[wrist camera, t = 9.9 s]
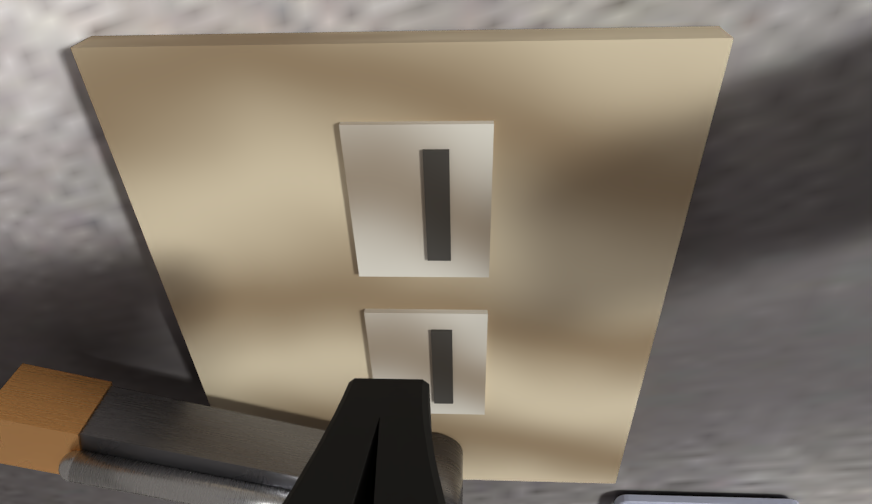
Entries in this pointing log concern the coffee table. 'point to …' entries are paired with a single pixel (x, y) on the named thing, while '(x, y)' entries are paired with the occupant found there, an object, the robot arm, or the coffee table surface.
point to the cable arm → (163, 442)
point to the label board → (419, 218)
